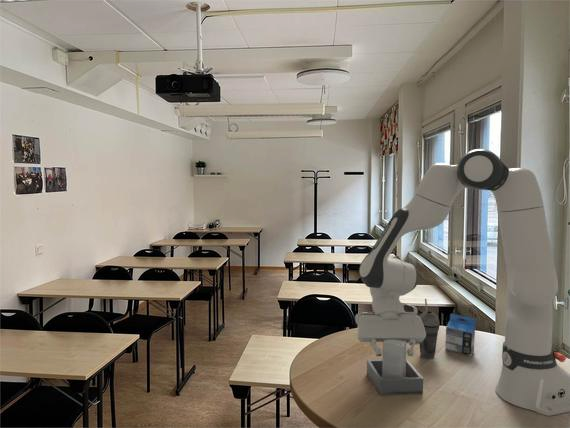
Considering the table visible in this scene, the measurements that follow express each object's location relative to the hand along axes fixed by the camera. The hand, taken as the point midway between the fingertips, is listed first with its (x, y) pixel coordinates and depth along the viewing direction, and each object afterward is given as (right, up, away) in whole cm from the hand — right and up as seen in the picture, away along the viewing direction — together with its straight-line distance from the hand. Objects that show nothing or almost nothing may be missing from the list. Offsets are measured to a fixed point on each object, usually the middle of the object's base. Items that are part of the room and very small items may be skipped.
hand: (394, 355), depth 119 cm
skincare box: (0, -8, +1) cm, 8 cm away
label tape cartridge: (+29, -7, +24) cm, 38 cm away
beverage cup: (+17, -7, +20) cm, 27 cm away
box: (0, -9, +1) cm, 9 cm away
